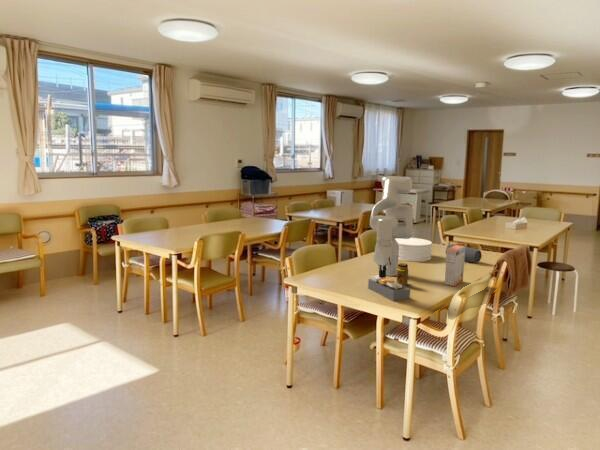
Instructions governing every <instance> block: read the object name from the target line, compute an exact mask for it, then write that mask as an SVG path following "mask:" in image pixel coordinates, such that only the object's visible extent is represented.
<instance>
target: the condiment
mask: <svg viewBox="0 0 600 450" xmlns="http://www.w3.org/2000/svg"><path fill="white" fill-rule="evenodd" d="M408 267H409V266H408V264H407V263H403V262H402V263H401V262H400V263H398V269H397V276H396V283H398V284H401V285H402V286H404V287H406V288H408V287H410V286H412V283H408V281H409V280H408V279H409V268H408Z"/></svg>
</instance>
